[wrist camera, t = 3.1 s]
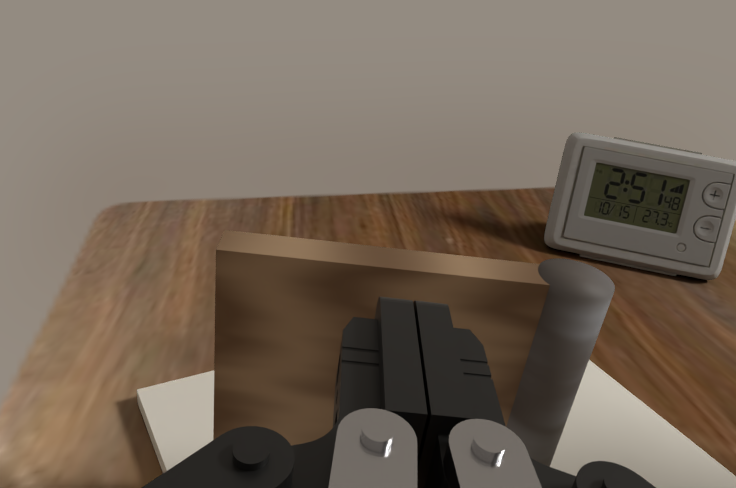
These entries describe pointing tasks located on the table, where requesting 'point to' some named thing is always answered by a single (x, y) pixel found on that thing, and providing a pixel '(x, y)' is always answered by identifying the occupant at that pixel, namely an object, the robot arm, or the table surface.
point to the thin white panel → (575, 448)
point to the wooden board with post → (359, 299)
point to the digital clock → (643, 206)
